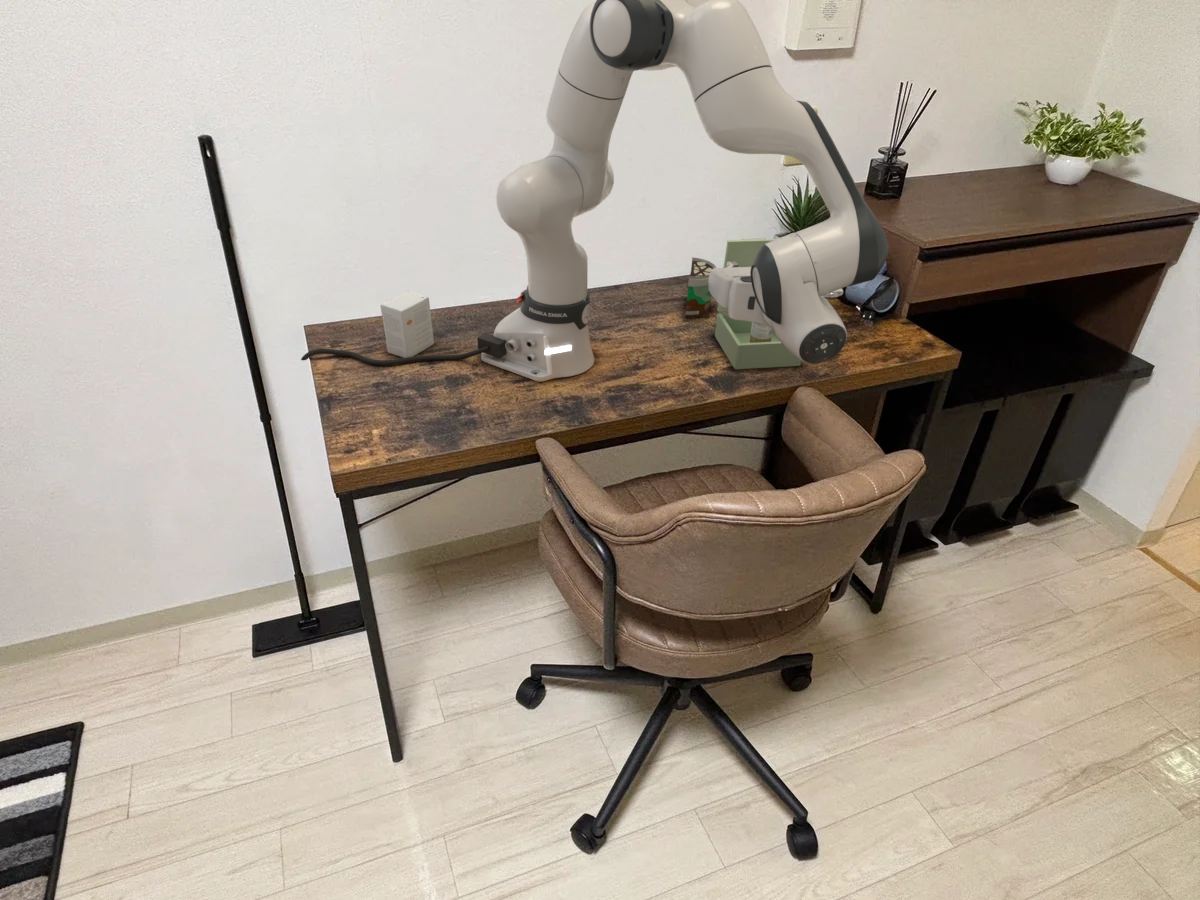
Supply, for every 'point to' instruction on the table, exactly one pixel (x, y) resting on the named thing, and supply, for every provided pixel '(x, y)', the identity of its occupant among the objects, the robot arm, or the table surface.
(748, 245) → the lid
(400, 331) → the small box
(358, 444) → the table surface
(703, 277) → the food container
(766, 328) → the sprinkles bottle
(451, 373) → the table surface
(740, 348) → the chest
